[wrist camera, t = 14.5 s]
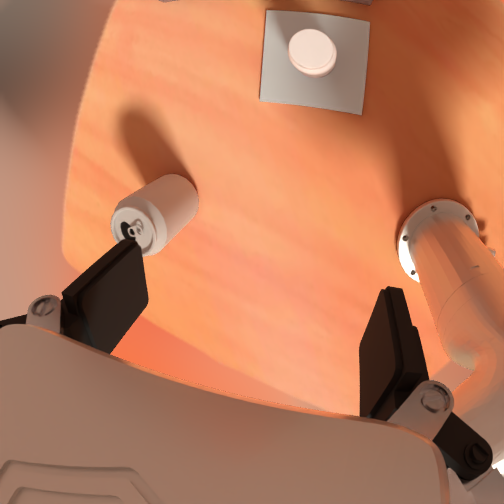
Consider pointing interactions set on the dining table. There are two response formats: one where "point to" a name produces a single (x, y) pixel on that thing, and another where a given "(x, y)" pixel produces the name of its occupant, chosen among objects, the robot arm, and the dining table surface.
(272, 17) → the mat
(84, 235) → the dining table surface
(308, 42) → the pill bottle
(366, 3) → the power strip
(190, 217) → the can
